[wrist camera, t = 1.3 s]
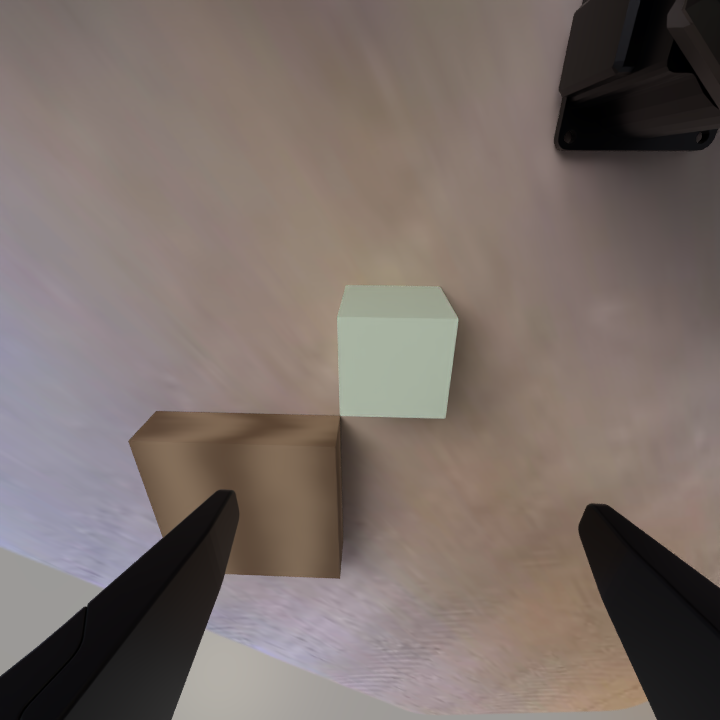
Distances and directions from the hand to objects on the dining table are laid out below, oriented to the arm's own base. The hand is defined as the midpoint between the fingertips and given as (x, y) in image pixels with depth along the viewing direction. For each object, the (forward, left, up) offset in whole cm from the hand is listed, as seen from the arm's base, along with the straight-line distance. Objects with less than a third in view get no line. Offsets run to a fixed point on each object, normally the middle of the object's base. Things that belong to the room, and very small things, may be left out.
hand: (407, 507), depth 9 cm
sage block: (0, 0, -13) cm, 13 cm away
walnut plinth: (+9, +12, -12) cm, 20 cm away
